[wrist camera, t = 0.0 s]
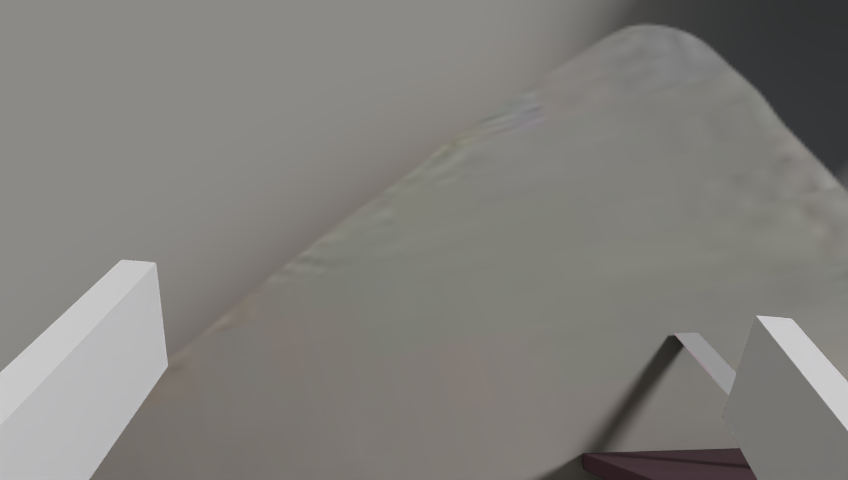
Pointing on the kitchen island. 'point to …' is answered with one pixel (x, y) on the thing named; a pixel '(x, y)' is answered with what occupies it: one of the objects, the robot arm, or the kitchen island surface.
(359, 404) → the kitchen island surface
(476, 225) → the kitchen island surface
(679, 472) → the picture frame
